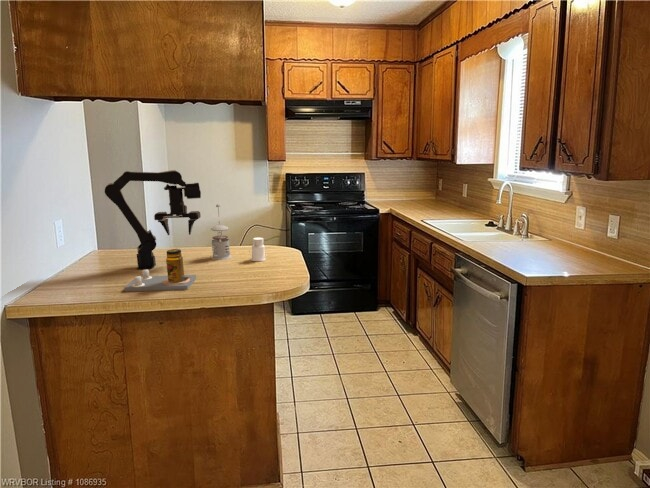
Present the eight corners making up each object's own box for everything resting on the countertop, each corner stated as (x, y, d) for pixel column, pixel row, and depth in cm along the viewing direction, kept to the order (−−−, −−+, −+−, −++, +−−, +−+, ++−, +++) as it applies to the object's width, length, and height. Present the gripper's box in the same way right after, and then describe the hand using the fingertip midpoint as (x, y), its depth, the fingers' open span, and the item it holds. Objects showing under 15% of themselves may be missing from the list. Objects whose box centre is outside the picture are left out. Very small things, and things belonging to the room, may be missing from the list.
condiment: (164, 283, 178) (161, 252, 176) (172, 276, 187) (169, 247, 184) (183, 283, 178) (180, 252, 175) (190, 276, 186) (188, 247, 184)
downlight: (250, 262, 213) (250, 240, 211) (248, 258, 220) (248, 237, 217) (268, 261, 215) (268, 239, 213) (265, 257, 222) (265, 236, 220)
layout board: (124, 291, 175) (123, 279, 174) (137, 279, 189) (136, 268, 188) (187, 289, 176) (186, 277, 175) (195, 278, 190) (195, 267, 189)
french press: (210, 260, 217) (206, 206, 211) (210, 254, 228) (206, 202, 222) (232, 259, 219) (229, 205, 213) (231, 253, 230) (228, 201, 224)
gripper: (201, 196, 215) (204, 230, 218) (160, 197, 214) (163, 231, 218) (196, 200, 204) (199, 235, 208) (152, 201, 203) (155, 236, 207)
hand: (179, 234), depth 210 cm, fingers open, 9 cm apart
